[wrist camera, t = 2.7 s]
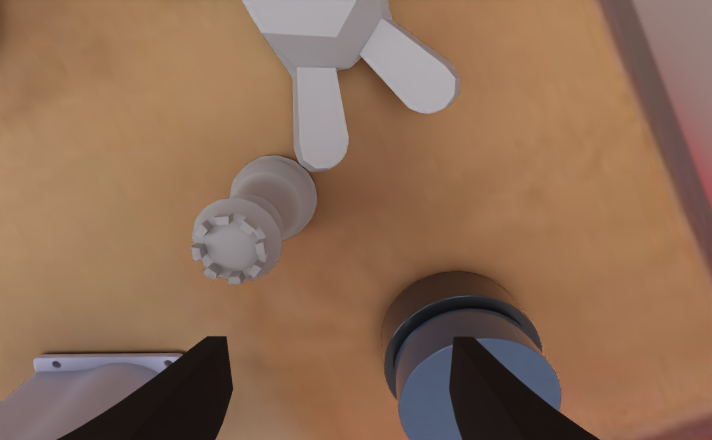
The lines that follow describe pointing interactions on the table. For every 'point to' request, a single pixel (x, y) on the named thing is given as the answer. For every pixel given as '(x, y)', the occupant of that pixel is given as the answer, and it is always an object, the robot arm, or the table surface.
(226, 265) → the rook chess piece
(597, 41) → the table surface
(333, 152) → the bunny figurine
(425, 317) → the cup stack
